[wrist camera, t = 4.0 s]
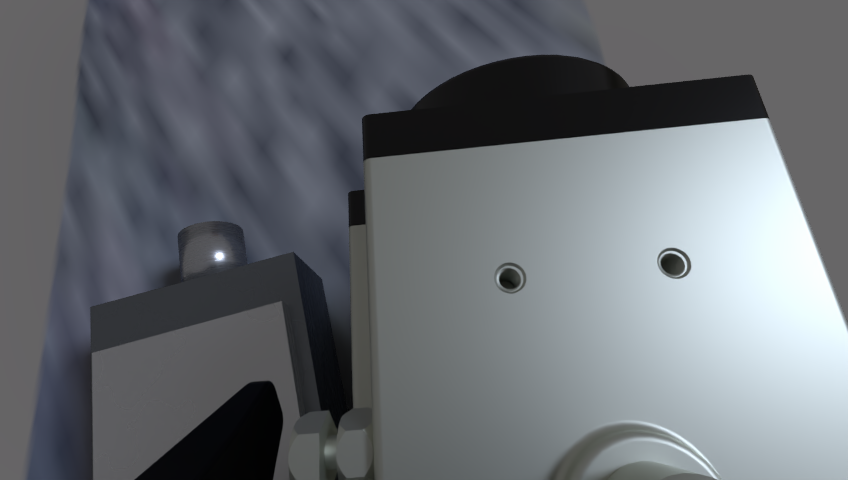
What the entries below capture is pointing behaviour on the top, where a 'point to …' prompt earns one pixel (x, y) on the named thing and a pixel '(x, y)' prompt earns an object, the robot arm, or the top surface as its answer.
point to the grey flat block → (208, 350)
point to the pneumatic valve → (583, 290)
